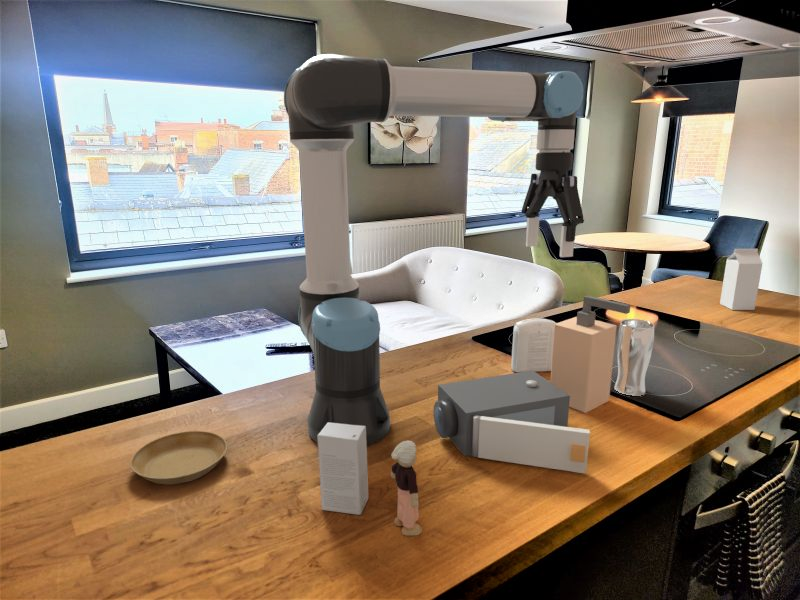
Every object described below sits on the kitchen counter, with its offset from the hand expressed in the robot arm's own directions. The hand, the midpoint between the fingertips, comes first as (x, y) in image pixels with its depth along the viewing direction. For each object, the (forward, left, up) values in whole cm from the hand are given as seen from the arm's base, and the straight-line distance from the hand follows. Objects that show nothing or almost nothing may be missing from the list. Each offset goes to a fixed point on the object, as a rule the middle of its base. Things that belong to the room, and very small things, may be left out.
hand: (547, 251), depth 122 cm
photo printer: (-2, 0, -28) cm, 28 cm away
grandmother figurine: (-48, -42, -28) cm, 70 cm away
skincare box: (-55, -35, -28) cm, 71 cm away
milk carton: (+87, +23, -28) cm, 94 cm away
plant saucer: (-78, -16, -28) cm, 84 cm away
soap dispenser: (-1, -19, -28) cm, 34 cm away
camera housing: (-24, -23, -28) cm, 43 cm away
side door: (-25, -35, -27) cm, 51 cm away
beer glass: (+11, -17, -28) cm, 35 cm away
